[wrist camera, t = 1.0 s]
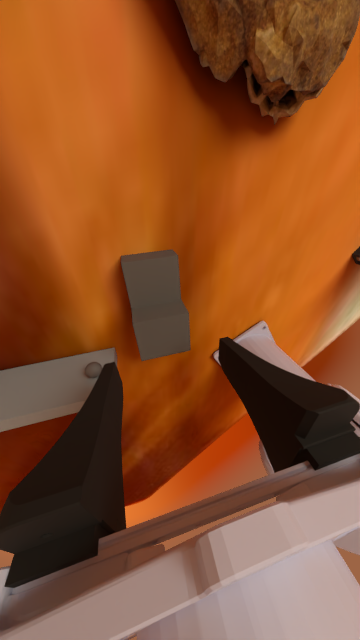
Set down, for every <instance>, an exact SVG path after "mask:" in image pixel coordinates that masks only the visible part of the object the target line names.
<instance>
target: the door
mask: <svg viewBox="0 0 360 640" xmlns="http://www.w3.org/2000/svg"><path fill="white" fill-rule="evenodd" d="M111 362H115V364H116V366H117V354H116V350H115V347H114V348H110V349H105V350H100V351H95V352H90V353H85V354H80V355H75V356H70V357H66V358H61V359H56V360H51V361H46V362H41V363H36V364H31V365H27V366H22V367H17V368H12V369H7V370H2V371H0V432H2V431H6V430H10V429H14V428H18V427H22V426H26V425H30V424H34V423H38V422H41V421H45V420H49V419H53V418H57V417H61V416H65V415H69V414H73V413H77V412H79V411H80V409H81V408H82V406H83V404H84V403H85V401H86V399H87V398H88V396H89V394H90V392H91V391H92V389H93V387H94V385H95V383H96V381H97V379H98V377H99V375H100V373H101V370H102V368H103V366H104V365H105V364H107V363H111Z"/></svg>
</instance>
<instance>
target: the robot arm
mask: <svg viewBox="0 0 360 640" xmlns="http://www.w3.org/2000/svg"><path fill="white" fill-rule="evenodd" d="M213 357H214V358H215V360H216V361H217V362H218V363H219V364H220V366H221V367H222V369H223V371H224V373H225V375H226V376H227V378H228V380H229V381H230V383H231V384H232V386H233V388H234V389H235V391H236V392H237V394H238V395H239V397H240V399H241V400H242V402H243V404H244V406H245V408H246V410H247V412H248V414H249V416H250V418H251V419H252V422H253V424H254V426H255V428H256V430H257V432H258V435H259V437H260V441H259V450H260V455H261V459H262V462H263V465H264V468H265V470H266V471H267V474H268V476H265V477H262V478H260V479H257V480H254V481H252V482H249V483H247V484H244V485H241V486H239V487H236V488H233V489H230V490H228V491H225V492H223V493H220V494H217V495H215V496H212V497H209V498H207V499H204V500H201V501H199V502H196V503H193V504H191V505H188V506H185V507H183V508H180V509H177V510H175V511H172V512H169V513H167V514H164V515H162V516H159V517H156V518H153V519H151V520H148V521H145V522H143V523H140V524H137V525H135V526H132V527H129V528H127V529H126V520H125V506H124V492H123V475H122V454H121V428H122V411H123V387H122V381H121V378H120V375H119V372H118V369H117V366H116V364H115V362H111V363H107V364H105V365H104V366H103V368H102V370H101V373H100V375H99V377H98V379H97V381H96V383H95V385H94V387H93V389H92V391H91V392H90V394H89V396H88V398H87V399H86V401H85V403H84V404H83V406H82V408H81V409H80V411H79V412H78V414H77V415H76V417H75V418H74V420H73V421H72V423H71V424H70V425H69V427H68V428H67V429H66V431H65V432H64V433H63V435H62V436H61V437H60V439H59V440H58V441H57V442H56V444H55V445H54V446H53V447H52V448H51V449H50V451H49V452H48V453H47V454H46V455H45V456H44V457H43V459H42V460H41V461H40V462H39V463H38V464H37V465H36V466H35V468H34V469H33V470H32V471H31V472H30V473H29V474H28V475H27V476H26V477H25V478H24V479H23V480H22V481H21V482H20V483H19V484H18V485H17V486H16V487H15V488H14V489H13V490H12V491H11V492H10V493H9V496H8V498H7V500H6V502H5V504H4V506H3V509H2V511H1V514H0V550H3V551H7V552H10V553H13V554H14V557H13V560H12V563H11V566H8V567H2V568H0V640H129V639H131V638H133V637H135V636H137V640H360V586H359V584H358V583H357V581H356V579H355V578H354V576H353V574H352V573H351V571H350V570H349V568H348V566H347V565H346V563H345V561H344V560H343V558H342V557H341V555H340V553H339V552H338V550H337V549H336V547H335V546H337V547H339V548H341V549H344V550H346V551H349V552H352V553H355V554H357V555H360V400H359V399H358V398H357V397H355V396H354V395H353V394H351V393H350V392H349V391H347V390H346V389H345V388H343V387H341V386H340V385H332V384H326V385H325V384H321V383H318V382H316V381H315V380H314V379H313V378H312V377H310V376H309V375H308V374H307V373H306V372H305V371H304V370H303V369H302V368H301V367H300V366H299V365H298V364H296V363H295V362H294V361H293V360H292V359H291V358H290V357H289V356H288V355H287V354H286V353H285V352H284V351H282V350H281V349H280V348H279V347H278V346H277V345H276V344H275V342H274V339H273V337H272V335H271V333H270V331H269V328H268V326H267V324H266V323H265V322H264V321H261V322H259V323H258V324H256V325H255V326H253V327H252V328H250V329H249V330H247V331H246V332H244V333H243V334H241V335H240V336H238V337H237V338H235V339H234V340H232V339H230V338H229V337H225V338H220V342H219V350H218V351H216V352H215V353H214V354H213ZM278 495H279V496H278ZM276 496H277V497H276ZM273 497H276V502H273V503H270V504H268V505H266V506H263V507H260V508H258V509H255V510H253V511H250V512H248V513H246V514H243V515H241V516H238V517H236V518H233V519H231V520H229V521H226V522H223V523H221V524H219V525H216V526H214V527H212V528H210V529H208V530H207V531H205V532H203V533H201V534H199V535H197V536H195V537H193V538H191V539H189V540H187V541H185V542H183V543H181V544H179V545H177V546H175V547H172V548H171V549H168V550H167V551H165V548H164V545H163V544H160V545H156V544H159V543H161V542H164V541H166V540H169V539H171V538H174V537H176V536H179V535H181V534H184V533H186V532H188V531H191V530H193V529H196V528H198V527H201V526H203V525H206V524H208V523H211V522H213V521H216V520H218V519H221V518H223V517H226V516H228V515H231V514H233V513H236V512H238V511H241V510H243V509H246V508H248V507H251V506H253V505H256V504H258V503H261V502H263V501H266V500H268V499H271V498H273ZM154 545H156V546H154Z"/></svg>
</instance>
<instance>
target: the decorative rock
mask: <svg viewBox="0 0 360 640" xmlns="http://www.w3.org/2000/svg"><path fill="white" fill-rule="evenodd" d="M175 2H176V5H177V7H178V9H179V12H180V14H181V17H182V19H183V22H184V24H185V27H186V30H187V33H188V36H189V39H190V42H191V45H192V48H193V50H194V51H195V52H196V53H197V54H198V55H199V59H200V64H201V65H202V67H206V66H209V67H210V69H211V71H212V73H213V75H214V77H215V78H216V79H218V80H220V81H223V82H225V83H226V81H228V80H229V79H231V78H232V77H233V75H234V74H235V72H236V71H237V69H238V68H239V67H240V65H241V66H242V67H243V68H244V69H245V72H246V76H247V87H248V94H249V98H250V102H251V103H254V104H258V105H259V107H260V111H261V116H262V117H263V116H265V115H268V114H269V115H270V116H272V117H273V118H274V125H275V123H276V122H277V120H278V118H279V117H290V116H291V115H293V114H294V113H296V112H297V111H298V109H299V108H300V107H301V105H302V104H303V102H304V101H305V100H309V99H313V98H317V97H318V96H319V94H320V93H321V91H322V90H323V88H324V87H325V86H326V84H327V83H328V81H329V80H330V78H331V77H332V75H333V74H334V72H335V71H336V69H337V68H338V67H339V65H340V64H341V62H342V61H343V60H344V58H345V55H346V53H347V50H348V48H349V46H350V44H351V41H352V39H353V37H354V35H355V32H356V29H357V25H358V21H359V16H360V0H175Z"/></svg>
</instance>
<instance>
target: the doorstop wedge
mask: <svg viewBox="0 0 360 640" xmlns="http://www.w3.org/2000/svg"><path fill="white" fill-rule="evenodd" d="M121 266H122V270H123V274H124V279H125V283H126V287H127V291H128V296H129V300H130V304H131V309H132V323H133V327H134V332H135V336H136V340H137V344H138V348H139V352H140V356H141V361H144V360H149V359H153V358H158V357H162V356H167V355H171V354H176V353H180V352H185V351H189V350H190V330H189V313H188V311H187V309H186V308H185V306H184V304H183V302H182V301H181V293H180V278H179V264H178V255H177V254H176V253H175V252H174V251H173V250H164V251H156V252H148V253H140V254H132V255H125V256H121Z"/></svg>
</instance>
